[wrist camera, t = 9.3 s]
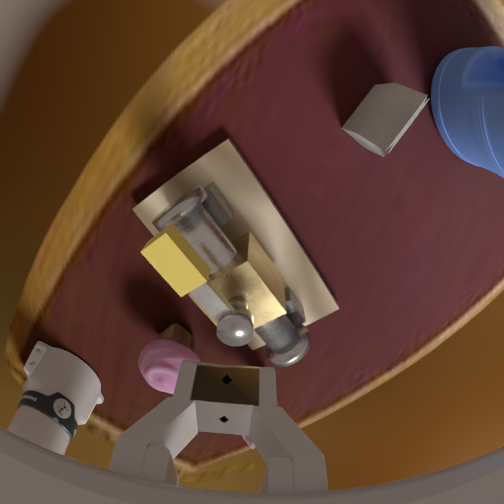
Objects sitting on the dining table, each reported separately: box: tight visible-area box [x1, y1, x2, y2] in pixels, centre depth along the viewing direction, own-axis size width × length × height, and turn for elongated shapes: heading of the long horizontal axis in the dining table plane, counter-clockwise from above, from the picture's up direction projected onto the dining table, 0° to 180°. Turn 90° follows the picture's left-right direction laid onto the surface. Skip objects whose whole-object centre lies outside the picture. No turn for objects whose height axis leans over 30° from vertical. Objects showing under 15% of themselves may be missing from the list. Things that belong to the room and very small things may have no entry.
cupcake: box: [138, 323, 201, 394], centre depth 41 cm, size 9×9×10 cm
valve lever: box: [141, 223, 254, 346], centre depth 26 cm, size 12×3×2 cm, turn 35°
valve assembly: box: [133, 138, 339, 367], centre depth 34 cm, size 14×26×12 cm, turn 33°
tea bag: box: [342, 83, 430, 157], centre depth 27 cm, size 4×7×10 cm, turn 145°
